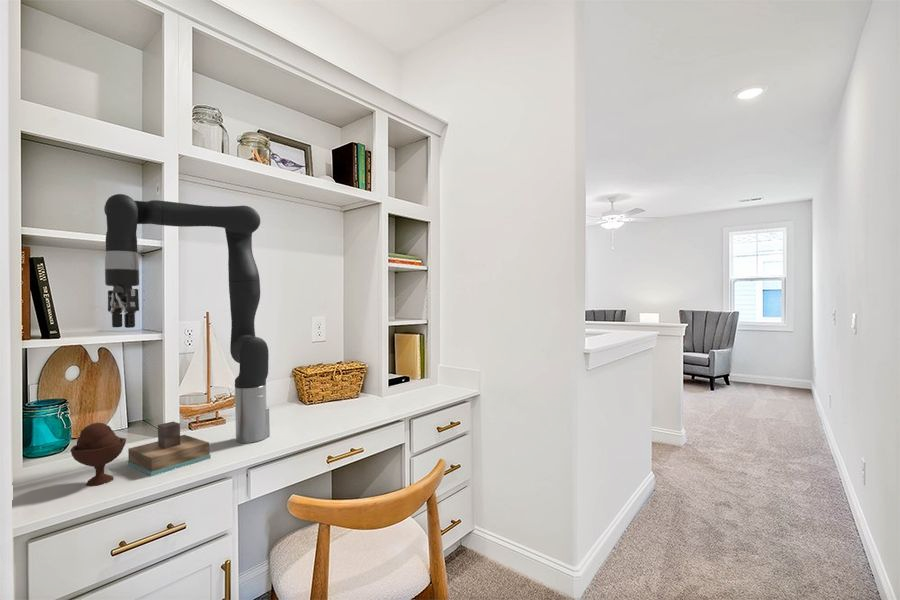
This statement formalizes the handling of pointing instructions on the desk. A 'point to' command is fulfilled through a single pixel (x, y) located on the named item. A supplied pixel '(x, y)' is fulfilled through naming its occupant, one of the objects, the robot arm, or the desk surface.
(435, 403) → the desk surface
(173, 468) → the teal mat
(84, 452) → the ice cream bowl
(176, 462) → the walnut cover
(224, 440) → the desk surface
